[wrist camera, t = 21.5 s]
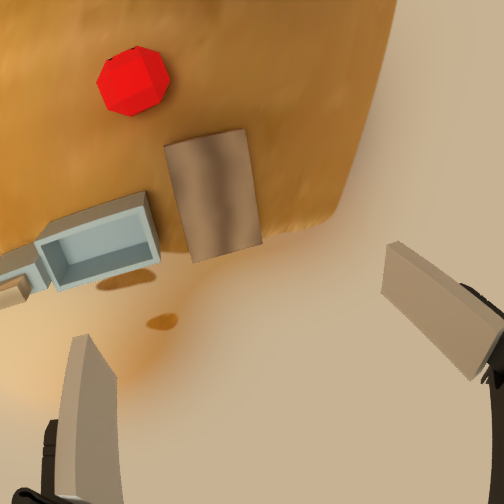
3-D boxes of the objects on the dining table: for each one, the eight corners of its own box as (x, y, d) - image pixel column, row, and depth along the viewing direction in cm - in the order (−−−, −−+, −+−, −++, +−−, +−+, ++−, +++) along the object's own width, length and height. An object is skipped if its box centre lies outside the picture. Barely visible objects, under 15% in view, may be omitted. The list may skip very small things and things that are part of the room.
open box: (49, 222, 36) (33, 242, 30) (145, 190, 39) (143, 205, 33) (68, 267, 40) (57, 292, 34) (159, 240, 43) (160, 262, 37)
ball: (154, 48, 30) (153, 34, 24) (174, 97, 35) (177, 93, 28) (99, 74, 30) (86, 66, 23) (120, 123, 34) (111, 125, 27)
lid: (191, 256, 42) (192, 263, 40) (163, 145, 34) (163, 147, 32) (258, 238, 43) (262, 243, 42) (241, 128, 36) (245, 129, 34)
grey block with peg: (2, 254, 35) (-32, 300, 24) (53, 234, 37) (23, 280, 26) (12, 274, 37) (-18, 324, 26) (63, 257, 39) (39, 307, 28)
